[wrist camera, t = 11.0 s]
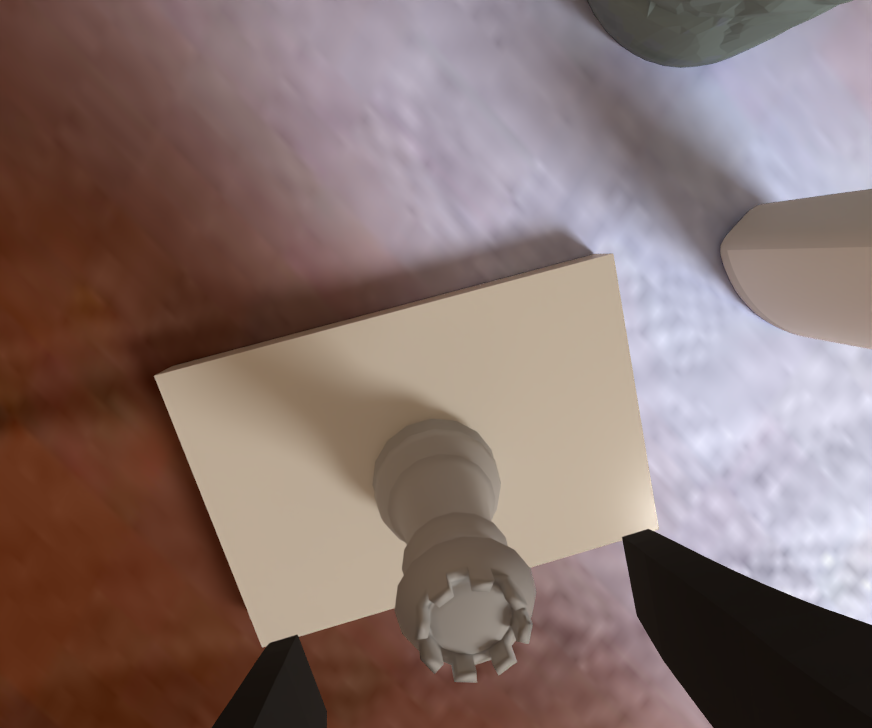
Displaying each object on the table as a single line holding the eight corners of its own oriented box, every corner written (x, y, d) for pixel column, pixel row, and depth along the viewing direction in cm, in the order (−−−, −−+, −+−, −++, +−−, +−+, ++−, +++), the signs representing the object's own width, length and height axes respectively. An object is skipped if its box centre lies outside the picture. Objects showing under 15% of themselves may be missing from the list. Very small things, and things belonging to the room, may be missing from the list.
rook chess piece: (407, 548, 19) (426, 753, 11) (350, 449, 18) (327, 599, 10) (513, 494, 19) (607, 661, 11) (462, 392, 18) (526, 497, 10)
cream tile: (270, 619, 20) (262, 647, 19) (172, 365, 18) (153, 375, 16) (639, 510, 21) (658, 529, 20) (595, 253, 19) (613, 253, 17)
